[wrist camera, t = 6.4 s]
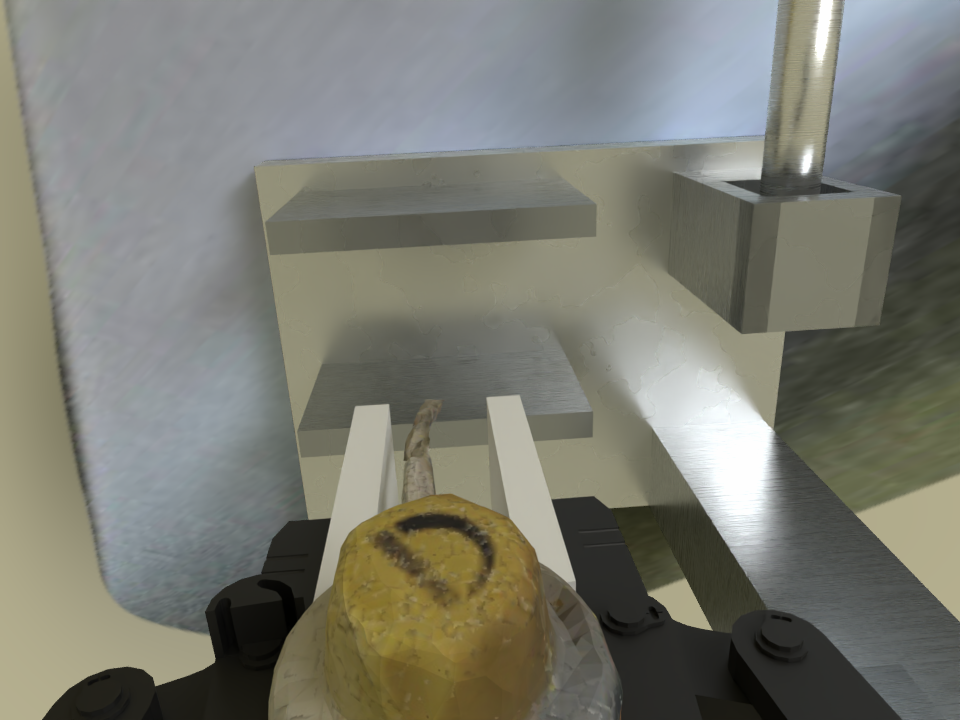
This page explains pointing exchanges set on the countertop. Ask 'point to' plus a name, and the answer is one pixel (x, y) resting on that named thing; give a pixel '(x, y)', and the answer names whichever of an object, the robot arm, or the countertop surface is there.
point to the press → (608, 356)
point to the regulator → (443, 621)
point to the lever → (800, 96)
